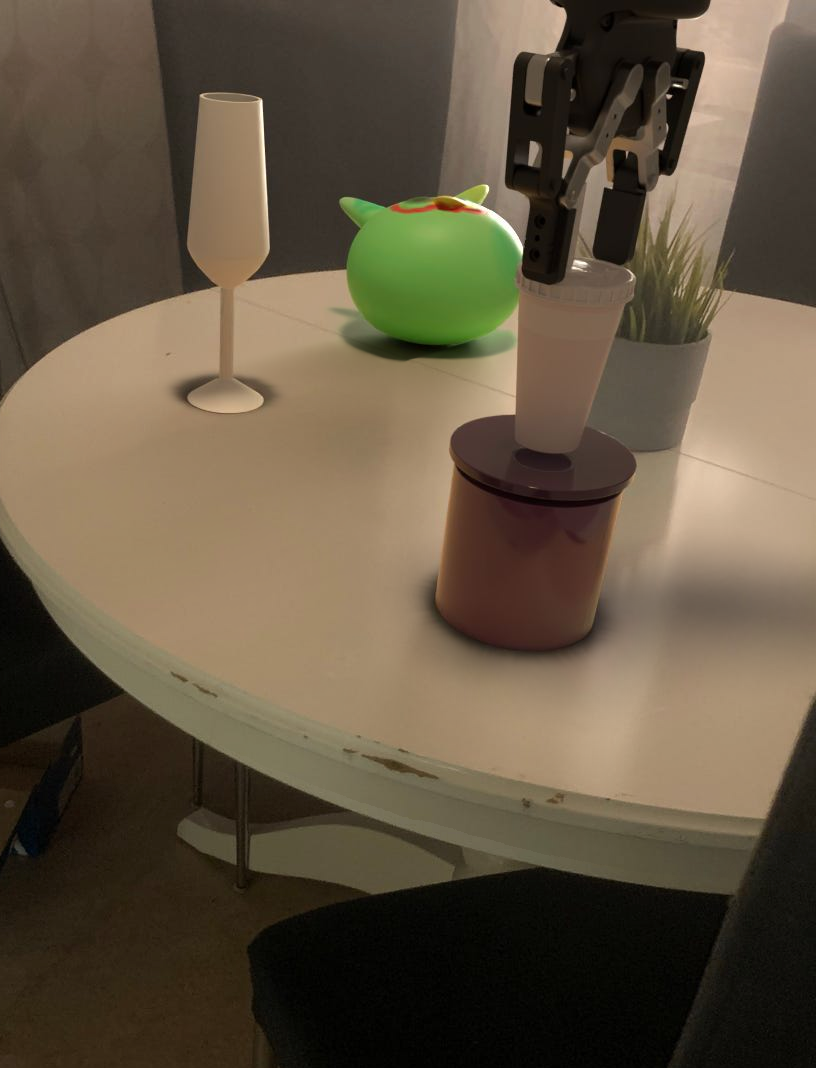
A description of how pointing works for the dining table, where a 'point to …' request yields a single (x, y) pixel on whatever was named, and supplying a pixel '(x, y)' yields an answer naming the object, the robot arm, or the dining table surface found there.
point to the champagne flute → (228, 224)
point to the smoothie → (565, 346)
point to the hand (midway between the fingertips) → (578, 269)
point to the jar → (528, 534)
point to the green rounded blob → (433, 267)
